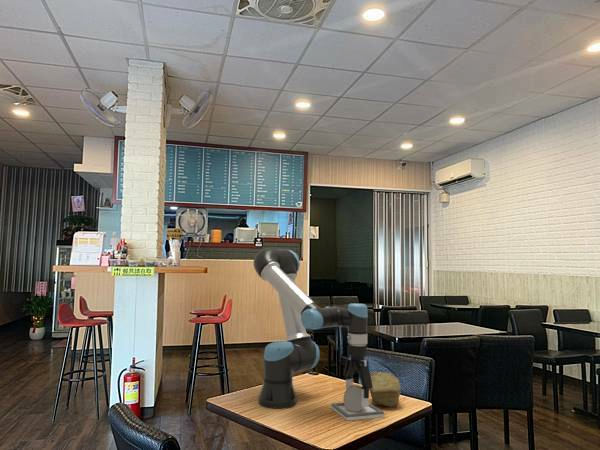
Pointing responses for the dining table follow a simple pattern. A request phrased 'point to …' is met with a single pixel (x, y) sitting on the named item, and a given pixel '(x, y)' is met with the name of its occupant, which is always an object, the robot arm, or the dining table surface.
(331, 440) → the dining table surface
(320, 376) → the dining table surface
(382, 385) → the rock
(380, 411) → the plate
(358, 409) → the grey rounded piece
